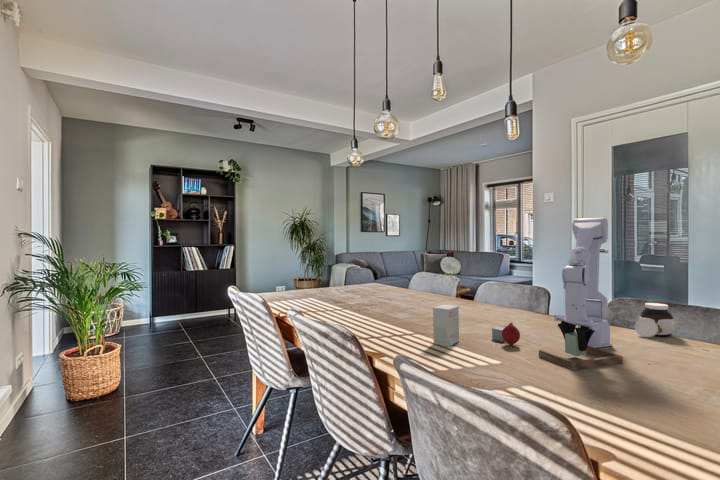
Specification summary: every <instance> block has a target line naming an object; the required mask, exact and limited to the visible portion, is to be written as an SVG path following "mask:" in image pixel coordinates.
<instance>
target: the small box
mask: <svg viewBox="0 0 720 480" xmlns="http://www.w3.org/2000/svg"><path fill="white" fill-rule="evenodd" d="M459 309H460V307H459V306H458V305H455V304H454V305H453V304H441V305H436V306H434V307H432V320H433V322H432V326H433V344H434V345H438V346H439V345H440V346H445V347H451V346H453V345H455V344H456V343H459V342H460V324H459V323H460V317H459V315H460V311H459Z"/></svg>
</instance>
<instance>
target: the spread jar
mask: <svg viewBox="0 0 720 480" xmlns="http://www.w3.org/2000/svg"><path fill="white" fill-rule="evenodd" d="M634 330H635V332H636V333H637V334H638V335H639V336H641V337H643V338H652V337H653V338H669V337H671V336H672V335H673V334H674V332H675V319H674V315H673V313H672V312H671V311H670V310H669V305H668V304H666V303H661V302H660V303H659V302H645V304H644V309H642V310H641V312H640V313H639V319H638V320H636V322H635V323H634Z"/></svg>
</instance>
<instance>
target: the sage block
mask: <svg viewBox="0 0 720 480" xmlns="http://www.w3.org/2000/svg"><path fill="white" fill-rule="evenodd" d="M564 353H566V354H568V355H572V356H573V357H581V356H587V352H586V351H579V345H578V336H577V332H576V331H575V332H572V333H565V339H564Z"/></svg>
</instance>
